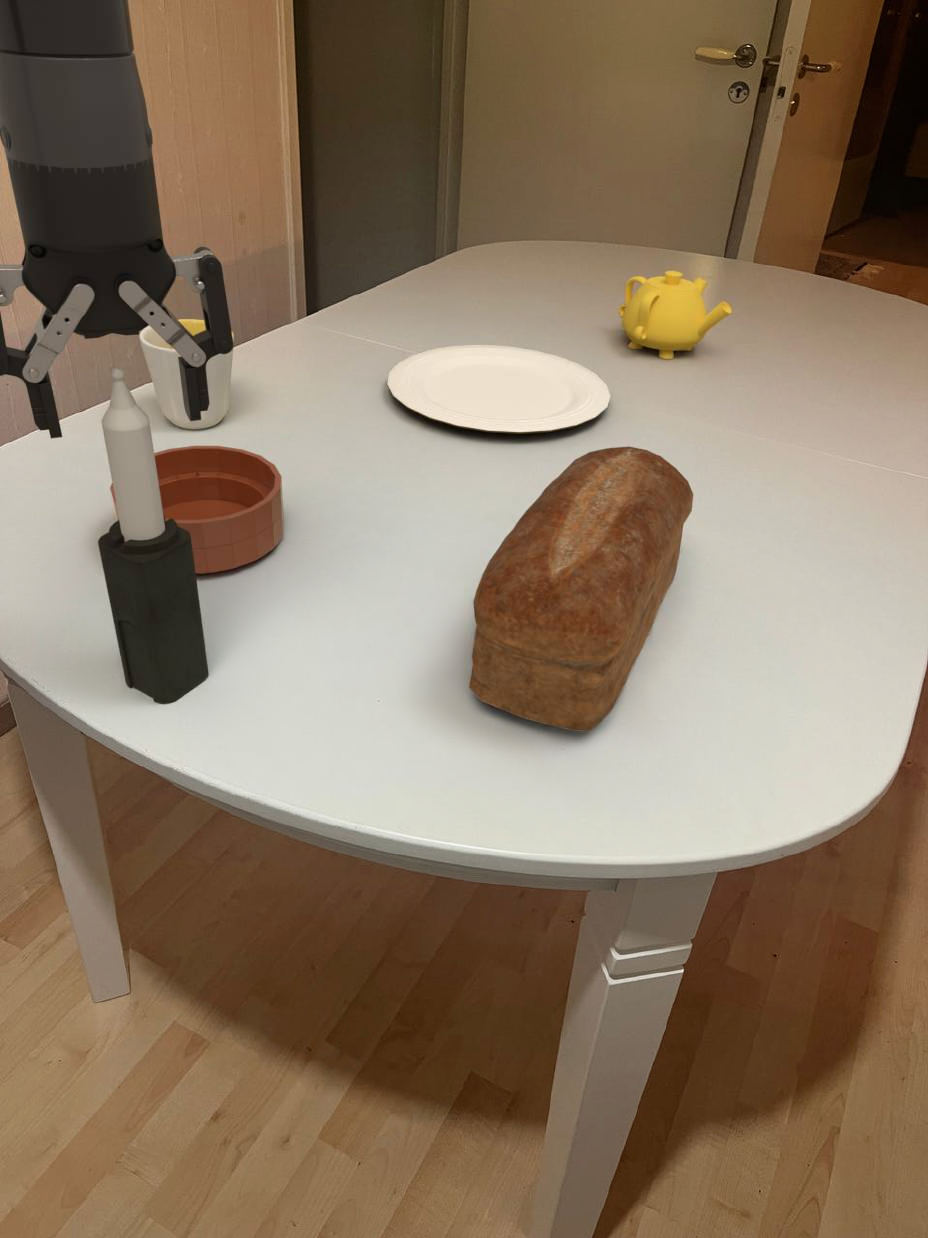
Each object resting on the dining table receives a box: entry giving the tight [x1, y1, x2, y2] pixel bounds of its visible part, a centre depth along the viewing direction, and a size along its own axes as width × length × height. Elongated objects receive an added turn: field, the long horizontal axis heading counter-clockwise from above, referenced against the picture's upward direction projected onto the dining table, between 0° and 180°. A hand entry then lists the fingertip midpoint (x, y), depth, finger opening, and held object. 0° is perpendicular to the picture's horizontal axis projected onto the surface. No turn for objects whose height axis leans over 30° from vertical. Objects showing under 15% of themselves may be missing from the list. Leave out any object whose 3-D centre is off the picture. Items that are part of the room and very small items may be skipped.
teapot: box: [618, 270, 732, 360], centre depth 138 cm, size 14×14×11 cm
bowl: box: [109, 445, 285, 575], centre depth 87 cm, size 15×15×6 cm
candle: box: [97, 367, 209, 704], centre depth 65 cm, size 5×5×25 cm
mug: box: [138, 318, 235, 430], centre depth 108 cm, size 14×10×10 cm
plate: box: [387, 344, 611, 435], centre depth 121 cm, size 29×29×2 cm
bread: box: [468, 446, 694, 732], centre depth 77 cm, size 12×31×14 cm, turn 157°
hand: (125, 424), depth 60 cm, fingers open, 8 cm apart
